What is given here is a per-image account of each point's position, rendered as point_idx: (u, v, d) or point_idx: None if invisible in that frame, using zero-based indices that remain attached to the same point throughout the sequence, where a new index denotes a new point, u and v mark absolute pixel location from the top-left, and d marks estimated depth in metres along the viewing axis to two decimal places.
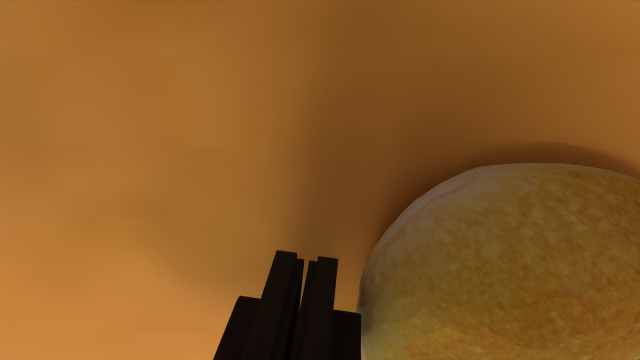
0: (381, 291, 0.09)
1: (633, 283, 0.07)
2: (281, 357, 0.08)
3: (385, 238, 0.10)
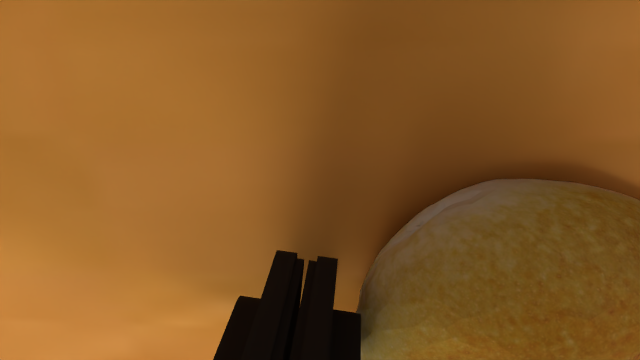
0: (388, 296, 0.09)
1: None
2: (281, 357, 0.08)
3: (393, 243, 0.10)
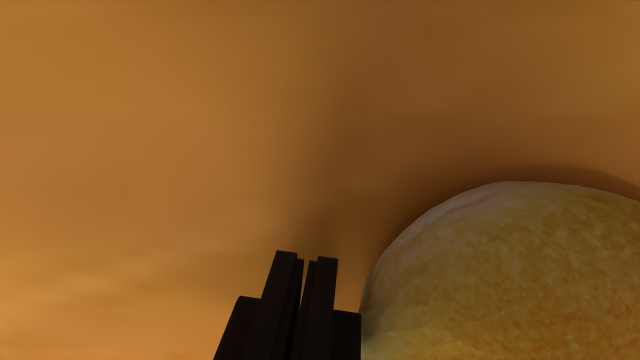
0: (391, 298, 0.09)
1: None
2: (281, 357, 0.08)
3: (397, 244, 0.10)
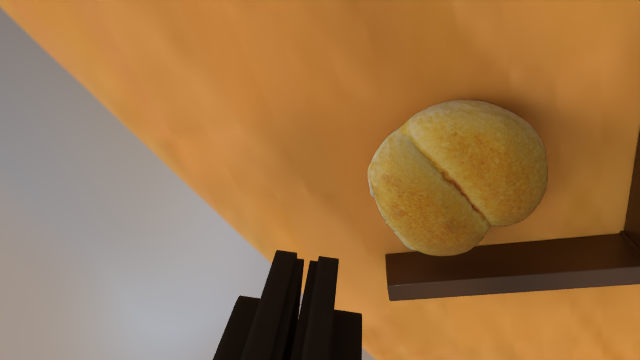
0: (495, 114, 0.19)
1: (530, 201, 0.20)
2: (281, 357, 0.08)
3: (498, 107, 0.20)
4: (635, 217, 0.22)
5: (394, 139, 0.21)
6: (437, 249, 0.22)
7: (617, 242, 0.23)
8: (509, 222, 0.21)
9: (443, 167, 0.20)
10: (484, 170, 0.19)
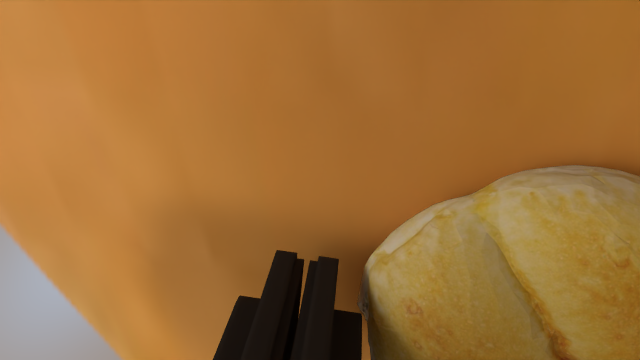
0: None
1: None
2: (281, 357, 0.08)
3: None
4: None
5: (453, 224, 0.09)
6: None
7: None
8: None
9: (563, 328, 0.08)
10: None
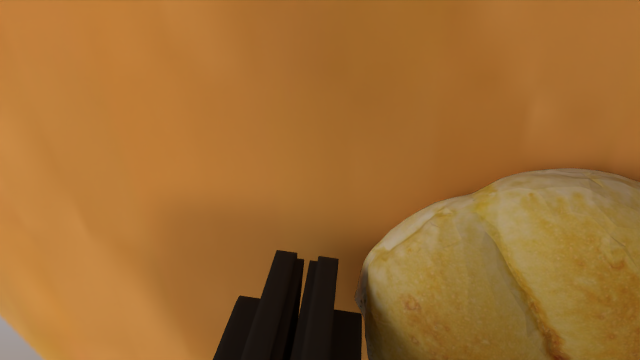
0: None
1: None
2: (281, 357, 0.08)
3: None
4: None
5: (453, 223, 0.09)
6: None
7: None
8: None
9: (557, 326, 0.08)
10: None
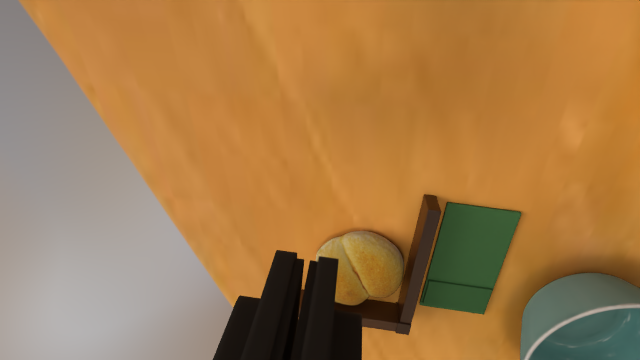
0: (383, 247, 0.40)
1: (389, 291, 0.41)
2: (281, 357, 0.08)
3: (388, 241, 0.41)
4: (400, 297, 0.44)
5: (334, 243, 0.41)
6: (341, 301, 0.42)
7: (391, 307, 0.45)
8: (378, 297, 0.42)
9: (354, 265, 0.40)
10: (371, 273, 0.40)
